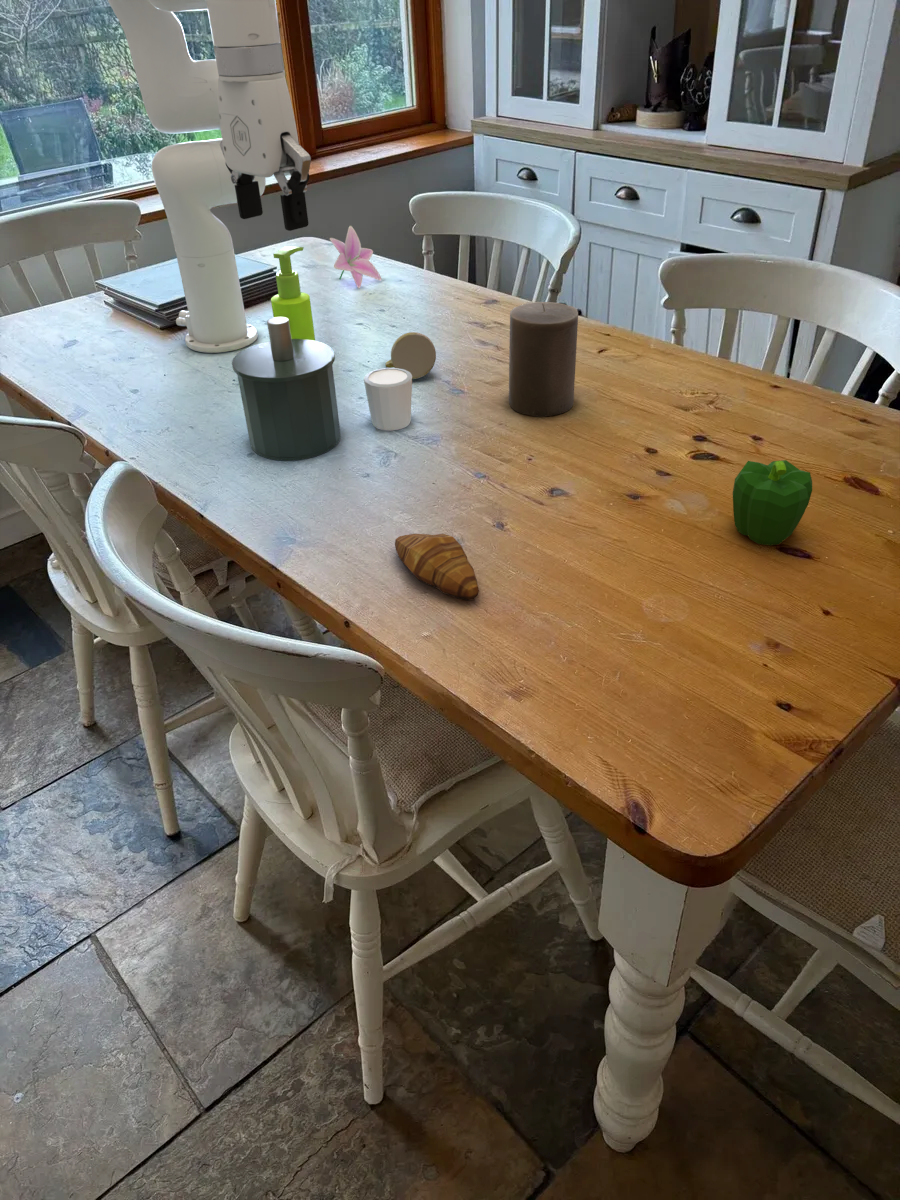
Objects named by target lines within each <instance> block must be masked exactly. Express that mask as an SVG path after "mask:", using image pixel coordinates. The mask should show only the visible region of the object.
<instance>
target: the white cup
mask: <svg viewBox="0 0 900 1200" xmlns="http://www.w3.org/2000/svg"><path fill="white" fill-rule="evenodd" d="M363 383H364V387H365V393H366V399H367V403H368V409H369V415H370V419H371V423H372V426H373V428H375V429H376V430H381V431H389V432H390V431H391V432H392V431H399V430H402V429H405V428H407V427H408V426H409V425H410V424H411V420H412V397H413V395H412V394H413V379H412V375H411V373H410V372H408V371H407V370H404V369H399V368H394V367H391V368H388V367H382V368H376V369H373V370H370V371H369V372H367V373H366V374H365V375H364V377H363Z"/></svg>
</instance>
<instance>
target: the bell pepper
mask: <svg viewBox="0 0 900 1200" xmlns="http://www.w3.org/2000/svg"><path fill="white" fill-rule="evenodd" d="M811 475H812V474H811V472H809V471H806V470H801V469H800V468H798V467H797V466H795V465H794V464H793V463H791V462H789V460H787V459H784V460H783V459H782V460H773V461H771V462H770V463H768V464H765V463H762V462H759V461H753V460H747V462H746V463H745V464H744V466H743V467H742V469H741V470H740V471H739V472H738V473H737V475H736V476H735V478H734V480H733V481H734V482H733V487H732V510H733V511H732V512H733V520H734V521H733V522H734V527H735V528H736V531H737V532H738V533H740V534H741V535H742V536H747V537H748V538H749V540H751V541H752V542H754V543H756V544H758V545H763V546H778V545H781V544H782V543H783V542H784V541H785V540H786V539H788V538H789V537H791V536H792V535H793V533H794V531H795V530H796V528H797V527H798V525H799V524H800V522H801V520H802V518H803V516H804V515H805V512H806V509H807V507H808V506H809V504H810V500H811V497H812V492H813V478H812V476H811Z"/></svg>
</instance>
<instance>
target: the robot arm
mask: <svg viewBox="0 0 900 1200" xmlns="http://www.w3.org/2000/svg"><path fill="white" fill-rule="evenodd" d="M107 2H108V4H109V6H110V7H111V10H112V11H113V13H114V15H115V16H116V18H117V20H118V22H119V24H120V26H121V28H122V30H123V32H124V35H125V38H126V41H127V45H128V50H129V53H130V58H131V61H132V65H133V68H134V72H135V76H136V80H137V84H138V87H139V91H140V95H141V98H142V103H143V105H144V108H145V112H146V114H147V117H148V120H149V122H150V124H151V125H152V127H153V128H154V129H155V130H156V131H158V132H159V133H161V134H169V135H171V134H172V135H174V134H175V135H177V134H187V133H197V132H206V131H207V132H208V131H215V130H216V131H217V130H218V131H220V134H221V135H220V136H221V138H213V139H207V140H205V139H202V140H194V141H185V142H179V143H174V144H170V145H167V146H164V147H162V148H161V149H159V150H158V151H157V152H156V153H155V154H154V156H153V158H152V162H151V172H152V177H153V181H154V184H155V188H156V189H157V192H158V195H159V198H160V200H161V203H162V206H163V209H164V212H165V215H166V219H167V222H168V226H169V229H170V234H171V239H172V243H173V247H174V251H175V255H176V260H177V265H178V270H179V275H180V279H181V284H182V289H183V293H184V299H185V302H186V307H187V310H180V311H179V312H178V317H177V318H176V319H175V324H176V325H177V326H179V327H186V329H187V334H186V335H185V336H184V341H185V345H186V347H187V348H188V349H190V350H193V351H194V352H200V353H207V354H208V353H209V354H213V353H214V354H215V353H226V352H232V351H236V350H239V349H244V348H245V347H246V348H247V347H249V346H250V345H252V344H253V343H254V342H255V341H256V340H257V339H258V337H259V335H258V330H257V328H256V327H255V326H254V325H252V324H249V323H248V322H247V316H246V311H245V305H244V299H243V294H242V288H241V283H240V278H239V272H238V271H239V270H238V266H237V260H236V254H235V250H234V248H235V247H234V244H233V243H234V242H233V238H232V236H231V232H230V230H229V229H228V227H227V225H225V223H223V221H221V220H220V219H219V218H218V217H217V216H215V215H214V213H213V212H212V210H211V209H212V208H216V207H219V206H225V205H232V204H237V208H238V214H239V218H240V219H243V220H248V219H251V218H255V217H261V216H262V215H263V213H264V210H263V205H262V199H261V197H262V195H263V194H264V193H265V190H266V182H267V181H266V178H270V177H272V176H273V177H274V179H275V180H276V182H277V183H278V185H279V187H280V189H281V191H282V193H283V194H280V195H279V196H280V203H281V211H282V217H283V224H284V229H285V230H286V231H289V232H291V231H295V230H299V229H303V228H307V227H308V226H309V215H308V208H307V201H306V192H307V191H308V182H309V181H310V169H311V162H312V157H311V155H310V154H309V152H307V151H306V149H304V148H303V146H302V145H300V142H299V135H298V130H297V129H298V128H297V124H296V118H295V114H294V108H293V105H292V98H291V95H290V91H289V87H288V83H287V80H286V72H285V65H284V58H283V57H284V56H283V50H282V43H281V34H280V27H279V19H278V11H277V5H276V3H277V2H276V0H107ZM204 10H205V11H206V10H207V15H208V20H209V26H210V32H211V38H212V44H213V51H214V56H215V58H212V59H199V60H194V59H193V58H192V57H191V55H190V53H189V49H188V44H187V41H186V36H185V31H184V28H183V24H182V23H181V21H180V20H179V18H178V17H177V16H176V14H175V13H179V12H190V11H192V12H193V11H204ZM287 176H290V177H289V179H287Z"/></svg>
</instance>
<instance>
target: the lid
mask: <svg viewBox="0 0 900 1200" xmlns="http://www.w3.org/2000/svg"><path fill="white" fill-rule="evenodd" d="M266 325H267V330H268V336H269V337H268V338H269V340H267V341H264V342H260V343H257V344H254V345H251V346H247V347H246V348H243V350H241V351H239V352H238V353H236V354H235V355H234V356H233V358H232V360H231V366H232V367H231V368H232V371H233V372H234V373H235V374H236V376H237V375H239V376H241V377H243V378H246V379H249V380H253V381H260V382H285V381H293V380H299V379H303V378H307V377H310V376H313V375H316V374H319V373H321V372H323V371H324V370H326V369H328V368H329V367H330V366H331V365H332V366H333V364H334V362H335V360H336V355H335V351H334V349H333V348H332V347H331V346H330V345H328V344H326V343H324V342H321V341H319V340H315V341H314V340H307V339H291V332H290V325H289V319H288V318H286V317H271V318H269V319H267V320H266Z"/></svg>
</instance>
